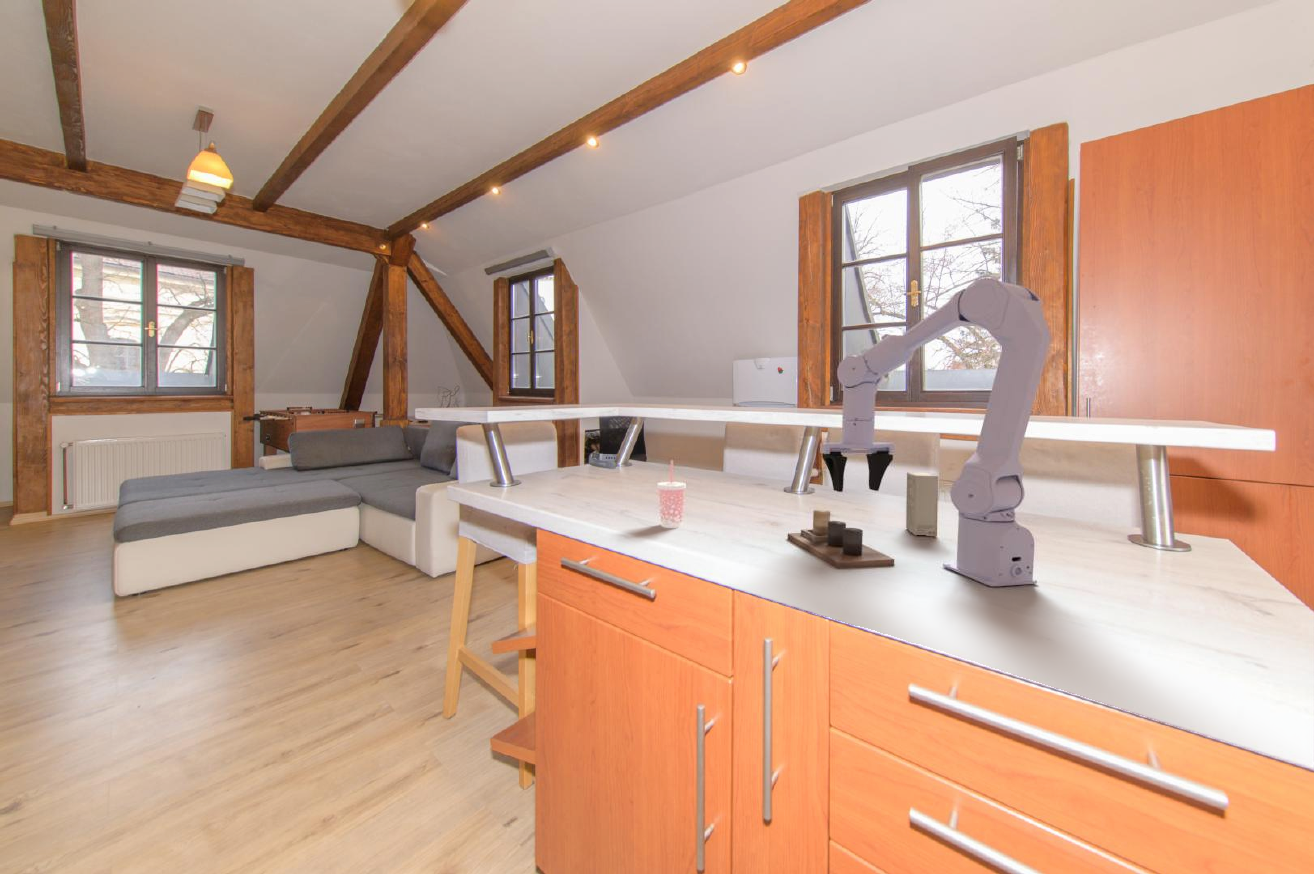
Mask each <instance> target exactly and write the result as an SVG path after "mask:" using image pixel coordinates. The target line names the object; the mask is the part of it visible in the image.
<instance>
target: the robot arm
mask: <svg viewBox="0 0 1314 874" xmlns="http://www.w3.org/2000/svg"><path fill="white" fill-rule="evenodd" d="M1042 306H1043V299H1041V298H1040V297H1039V296H1038V295H1037V294H1036V293H1035V292H1034V291H1032V290H1031V289H1029V288H1028V287H1026V286H1023V285H1018V284H1012V283H1008V282H1004V281H1001V280H998V279H996V278H992V277H983V278H982V277H981V278H979V279H976V280H974V281H972V282H971V283H970V284H969V285H968V286H966V288H961V289H960V290H958V291H956V292H954V294H953V295H952V296H951V298H950V300H948V301H947V302H946V303H944V304H943V305H942V306H940V307H939V308H937V309H936V310H935V311H933V312H932V313H931V314H929V315H928V316H926V317H925V318H923V319H922V320H921V321H919V322H918V323H916V324H915V325H913V327H911V328H909V329H908V330H907V331H906V332H904V333H903V334H902V333H898V332H892V333H885V334H884V335H882V336H881V340H880V341H878V342H876V343H875V344H874V345H872V346H871V347H869V348H868V349H867V348H865V349H862V350H861V351H860V354H859V355H853V354H852V355H847V356H845V358H844V359H842V360H841V361H840V362H839V364H838V367H837V370H836V371H837V372H836V376H837V380H838V381H839V383H840V384H841V385H842V386H843V388H842V389H843V392H842V421H841V425H842V428H841V430H842V431H841V441H840V442H839V441H837V442H819V443H820V445H819V447H820V449H819V453H820V454H821V455H822V459H823V461H824V464H825V465H826V467H827V470H828V473H829V476H830V479H831V482H832V488H833V491H836V492H838V493H842V492H843V491H844V483H845V481H844V479H845V478H844V475H845V468H846V465H847V461H848V457H847V456H844V455H843V454H866V459H867V465H868V466H867V467H868V487H869V488H868V489H869V490H870V491H875V492H878V491H879V490H880V487H881V484H882V480H883V478H884V476H885V473H886V471H887V469H888V467H889V466H890V464H891V463H892V461H893V460H894V453H895V444H896V443H894V442H882V441H881V442H878V441H877V442H876V441H875V419H876V417H875V414H876V413H875V412H876V395H877V393H878V386H879V384H880V383H881V381H882V380H883V378H884V376H886V375H888V374H890V373H892V372H893V371H895V370H897V369H898V368H900V367H902V366H903V365H906V363H908V362H910V361H911V360H913V357H914V355H915V351H916V350H917V349H919V348H921V347H923V346H925V345H927V344H928V343H930V342H933V341H934V340H936V339H938V338H940V337H942V336H944V335H946V334H947V333H950V332H951V331H953V330H955V329H957V328H959V327H979V328H982V329H984V330H985V331H987V332H988V333H989V334H990V335H991V336H992V338H993V339H995V341H996V342H997V343H998V344H999V345H1000V347H1001V353H1000V356H999V361H998V364H997V367H996V371H995V376H994V379H993V383H992V388H991V390H990V396H989V399H988V403H987V407H986V412H985V415H984V418H983V422H982V427H981V429H980V435H979V436H978V440H977V441H978V442H977V446H976V450H975V452H974V453H973V454H972V455H971V456H970V458H968V460H967V461H966V462H965V463H964V464H963V467H962V470H961V471H962V472H961V473H960V475H959V476H958V478H956V479H955V481H954V482H953V483H952V485H951V487H950V493H949V494H950V500H951V502H952V505H953V506H954V507H955V509H956V510H957V511H958V524H957V544H956V545H957V546H956V549H957V550H956V562H944V563H942V566H943V568H946V569H949V570H951V571H954V572H955V573H958V574H961V575H963V576H965V577H968V578H970V579H973V580H975V581H977V582H980V583H982V584H984V585H987V586H988V587H1005V586H1006V587H1007V586H1017V585H1018V586H1019V585H1033V584H1038V580H1037V579H1035V578H1034V562H1035V561H1034V559H1035V539H1034V536H1033V534H1032V532H1031V531H1030V530H1029V529H1028V528H1026V527H1024V526H1022V525H1020V524H1019V523H1018V522H1017V521H1016V512H1015V509H1017V508H1019V507H1020V506H1021V504H1022V503H1023V501H1024V500H1025V499H1024V498H1025V495H1026V494H1025V493H1026V492H1025V487H1024V484H1023V476H1024V473H1025V468H1024V466H1023V465H1022V463H1021V461H1020V459H1019V458H1020V453H1021V451H1022V450H1021V449H1022V446H1023V444H1024V439H1025V436H1026V432H1027V428H1028V425H1029V421H1030V417H1031V413H1032V411H1033V407H1034V404H1035V401H1036V397H1037V393H1038V388H1039V385H1040V381H1041V379H1042V374H1043V370H1044V367H1045V364H1046V360H1047V358H1048V353H1049V348H1050V346H1051V342H1052V333H1051V331H1050V328H1049V325H1048V323H1047V319H1046V317H1045V314H1044V312H1043V308H1042Z"/></svg>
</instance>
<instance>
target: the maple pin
mask: <svg viewBox="0 0 1314 874" xmlns="http://www.w3.org/2000/svg"><path fill="white" fill-rule="evenodd" d="M812 518H813V519H812V529H813V534H814V535H816V536H828V522H829V521H831V511H830V510H828V509H818V508H817V509H814V510H813V517H812Z"/></svg>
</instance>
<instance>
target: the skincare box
mask: <svg viewBox="0 0 1314 874" xmlns="http://www.w3.org/2000/svg"><path fill="white" fill-rule="evenodd" d="M938 496H939V475H937V474H933V473H931V472H913V471H912V472H910V471H907V472H906V503H905V504H906V508H905V509H906V513H905V515H906V517H905V518H906V519H905V521H906V522H905V529H906V528H907V529H908V530H909V531H908V530H907V529H906V530H907V531H908V532H910V533H911V532H912V533H913V534H912V533H911V534H912V535H913V536H917V535H926V536H925V537H938V511H939V509H938V507H939V505H938V504H939V503H938V500H939V497H938Z"/></svg>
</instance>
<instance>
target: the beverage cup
mask: <svg viewBox="0 0 1314 874" xmlns="http://www.w3.org/2000/svg"><path fill="white" fill-rule="evenodd" d="M656 485H657V489H658V498H659V499H658V500H659V504H658V505H659V516H660V517H659V519H660V526H661V527H663V528H667V529H678V528H681V527H682V526H683V519H684V506H685V505H684V503H685V491H686V490H685V489H686V488H687V484H686V483H685V482H682V481H674V460H672V459H671V460H670V481H661V482H658V483H657V484H656Z"/></svg>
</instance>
